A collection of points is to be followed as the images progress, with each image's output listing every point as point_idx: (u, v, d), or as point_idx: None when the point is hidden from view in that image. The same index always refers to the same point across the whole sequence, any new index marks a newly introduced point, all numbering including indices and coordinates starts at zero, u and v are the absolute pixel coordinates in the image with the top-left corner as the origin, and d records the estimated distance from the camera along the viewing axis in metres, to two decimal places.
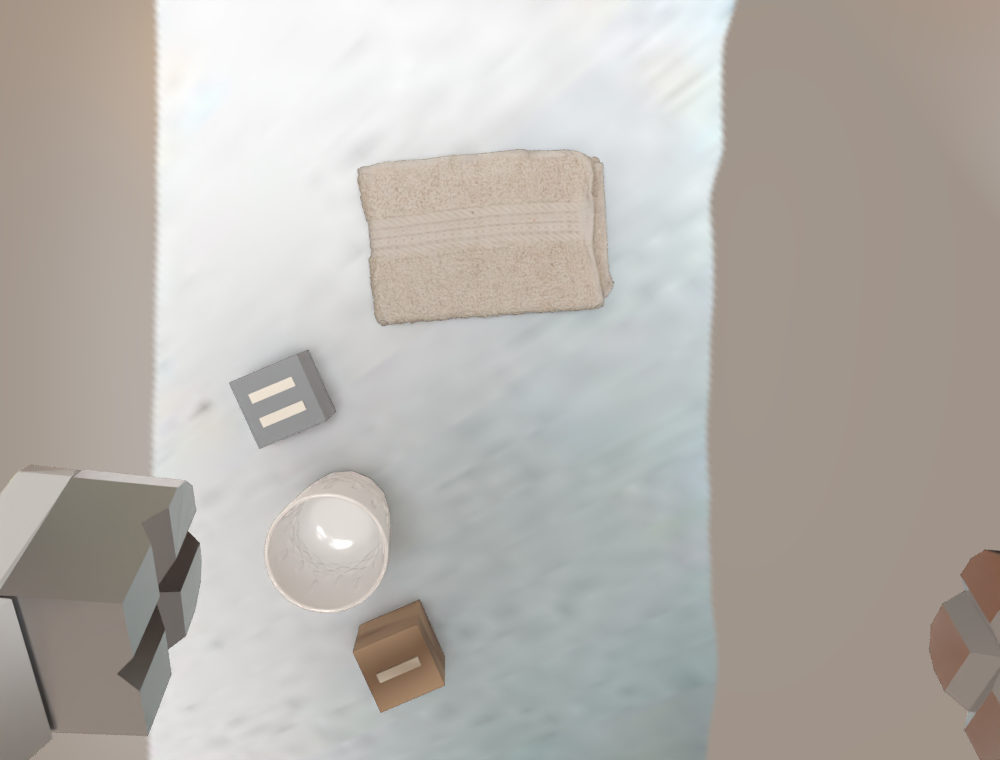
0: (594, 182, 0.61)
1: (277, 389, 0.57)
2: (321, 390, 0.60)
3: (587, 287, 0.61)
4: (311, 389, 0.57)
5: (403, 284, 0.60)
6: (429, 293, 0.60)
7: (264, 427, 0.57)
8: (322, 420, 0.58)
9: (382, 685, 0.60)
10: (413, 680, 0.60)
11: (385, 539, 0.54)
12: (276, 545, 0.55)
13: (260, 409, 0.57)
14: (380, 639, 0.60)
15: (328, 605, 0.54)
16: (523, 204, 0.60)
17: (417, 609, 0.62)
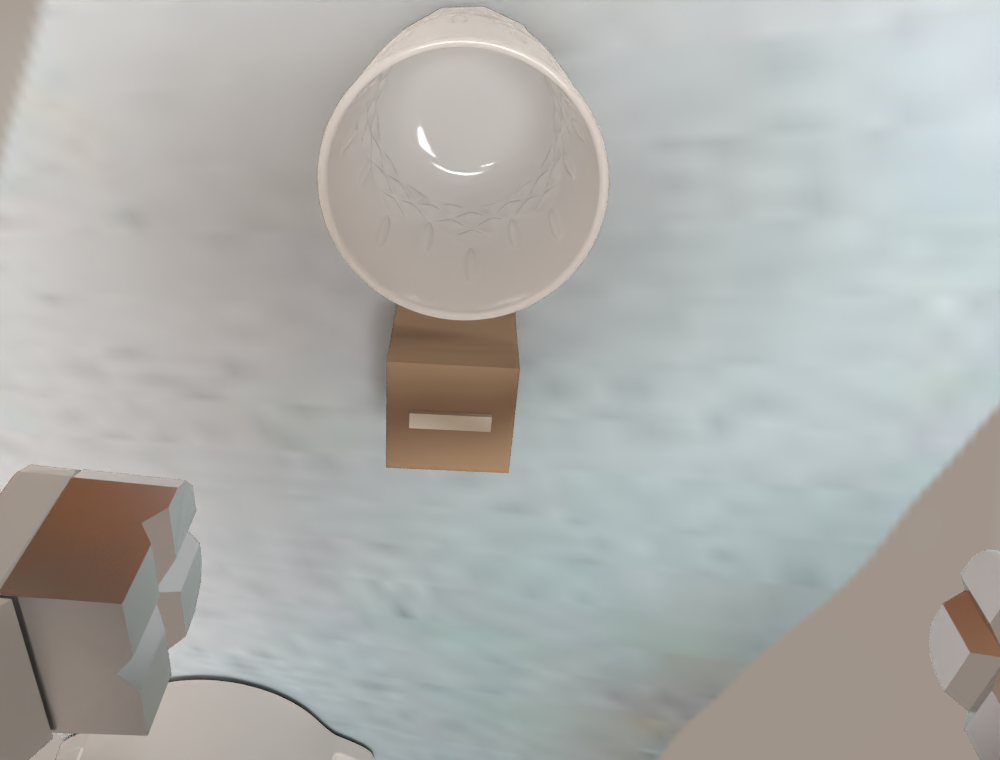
0: None
1: None
2: None
3: None
4: None
5: None
6: None
7: None
8: None
9: (409, 431, 0.33)
10: (464, 446, 0.33)
11: (600, 223, 0.23)
12: (351, 113, 0.23)
13: None
14: (443, 361, 0.31)
15: (410, 291, 0.25)
16: None
17: (513, 330, 0.34)
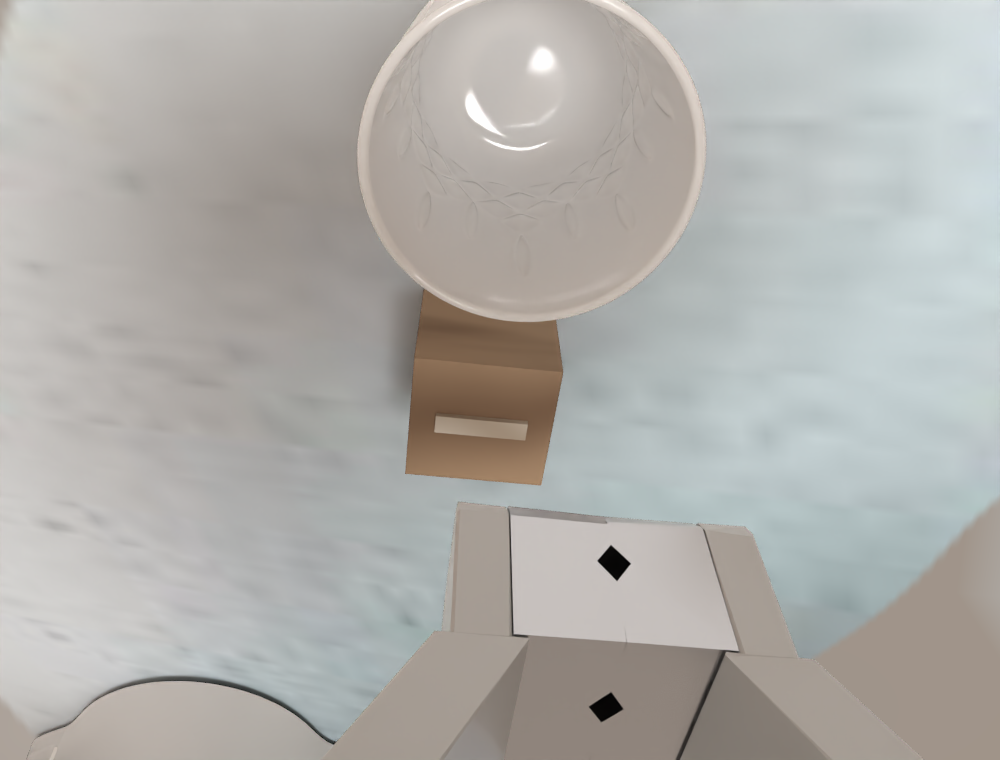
0: None
1: None
2: None
3: None
4: None
5: None
6: None
7: None
8: None
9: (434, 435, 0.29)
10: (494, 454, 0.30)
11: (688, 216, 0.20)
12: (399, 69, 0.19)
13: None
14: (477, 360, 0.28)
15: (456, 285, 0.21)
16: None
17: (554, 327, 0.30)
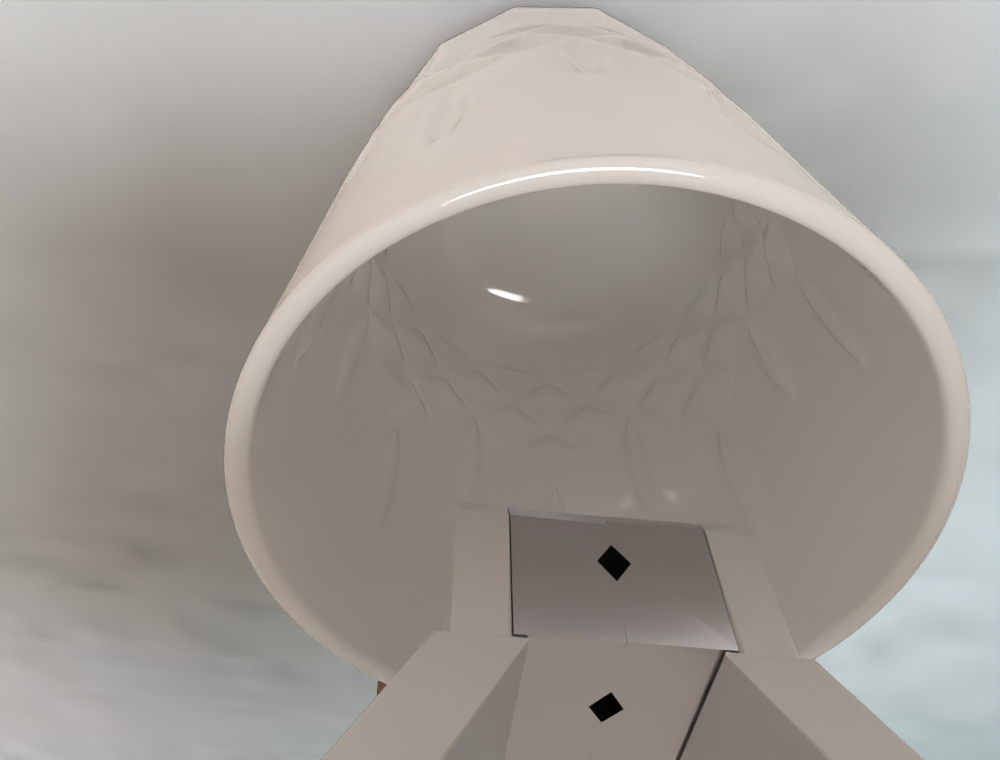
0: None
1: None
2: None
3: None
4: None
5: None
6: None
7: None
8: None
9: None
10: None
11: (904, 580, 0.10)
12: None
13: None
14: None
15: None
16: None
17: None
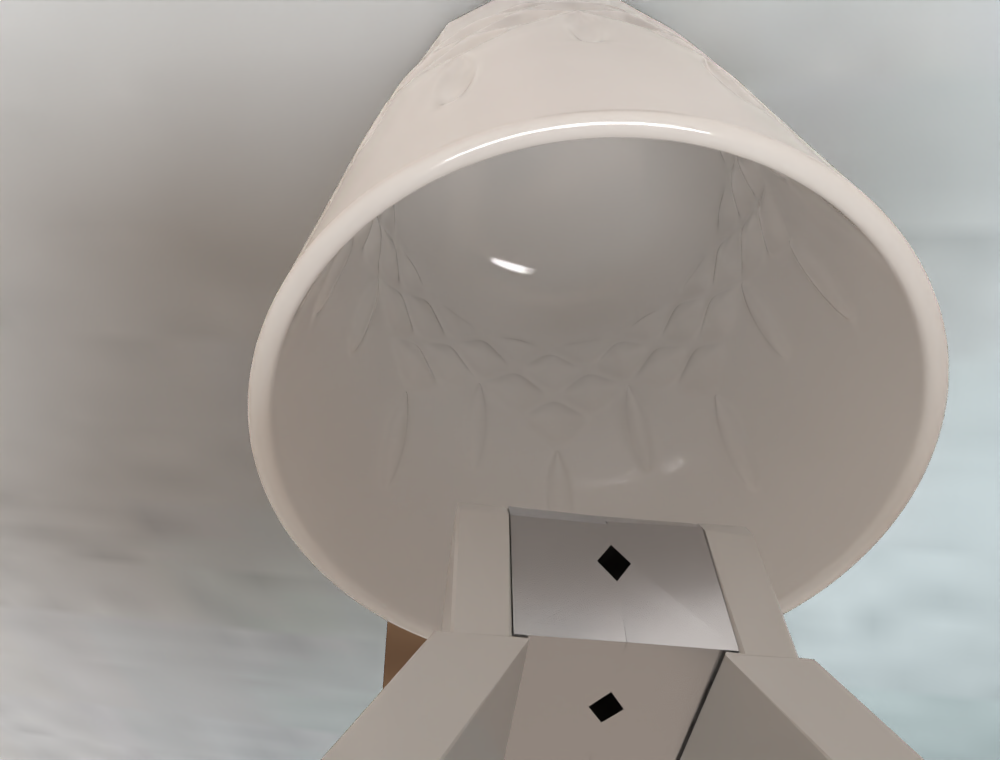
0: None
1: None
2: None
3: None
4: None
5: None
6: None
7: None
8: None
9: None
10: None
11: (888, 524, 0.10)
12: None
13: None
14: None
15: None
16: None
17: None
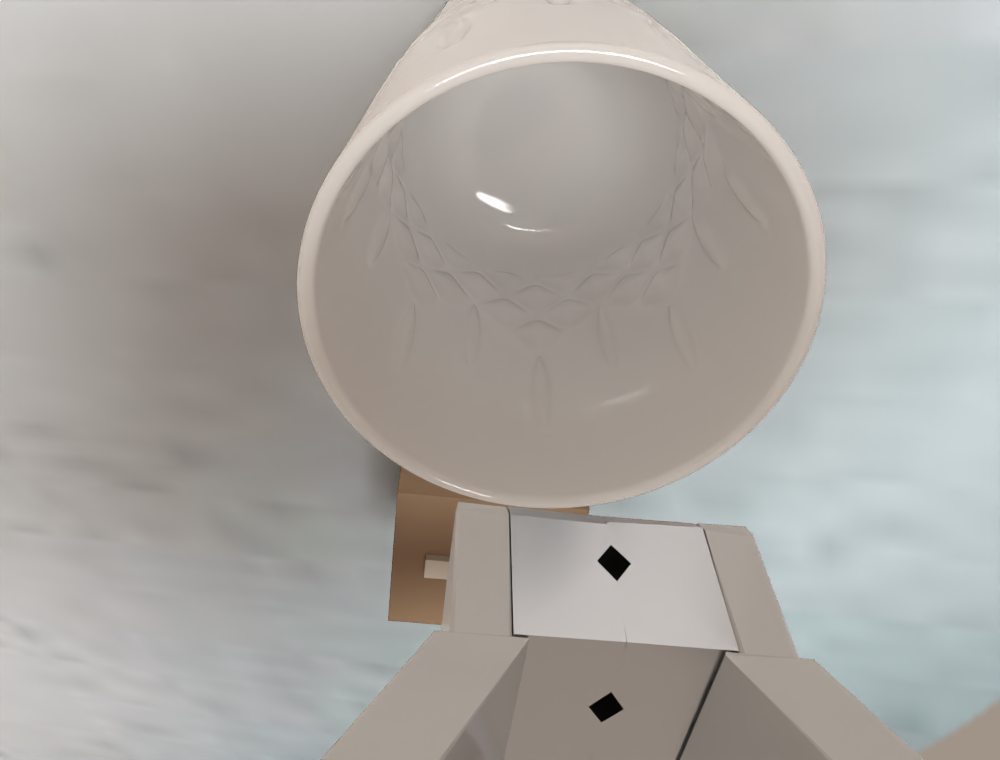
0: None
1: None
2: None
3: None
4: None
5: None
6: None
7: None
8: None
9: (424, 579, 0.23)
10: None
11: (790, 378, 0.13)
12: (362, 158, 0.13)
13: None
14: None
15: (448, 455, 0.15)
16: None
17: None
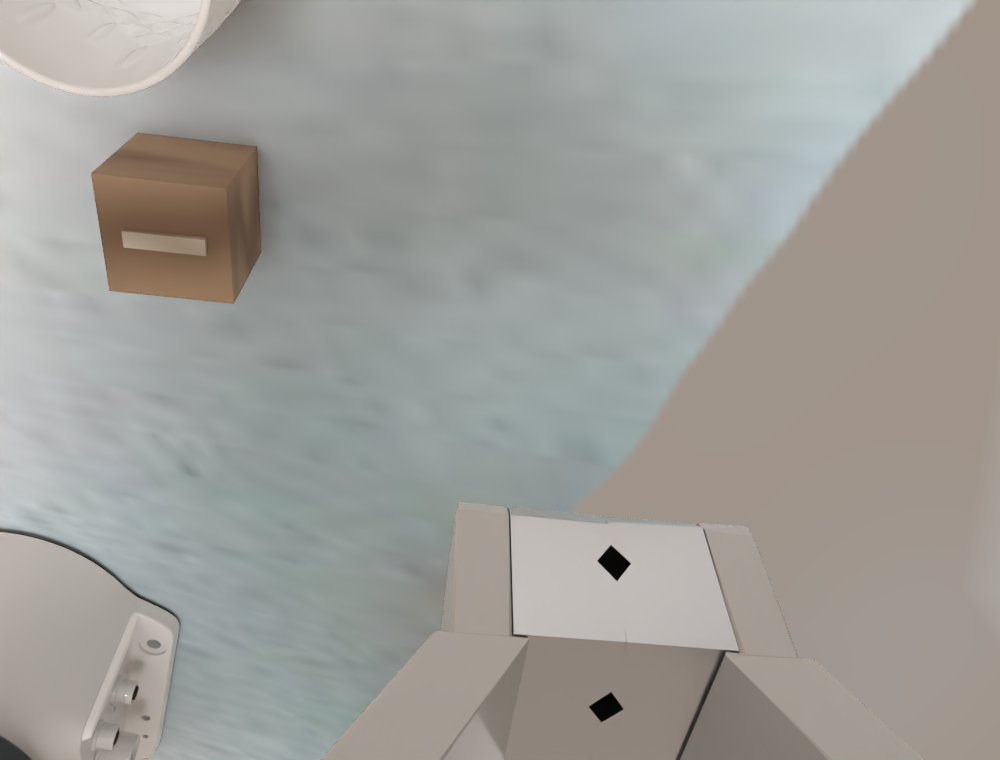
0: None
1: None
2: None
3: None
4: None
5: None
6: None
7: None
8: None
9: (127, 251, 0.33)
10: (184, 272, 0.34)
11: None
12: None
13: None
14: (150, 177, 0.32)
15: (41, 65, 0.25)
16: None
17: (243, 161, 0.34)
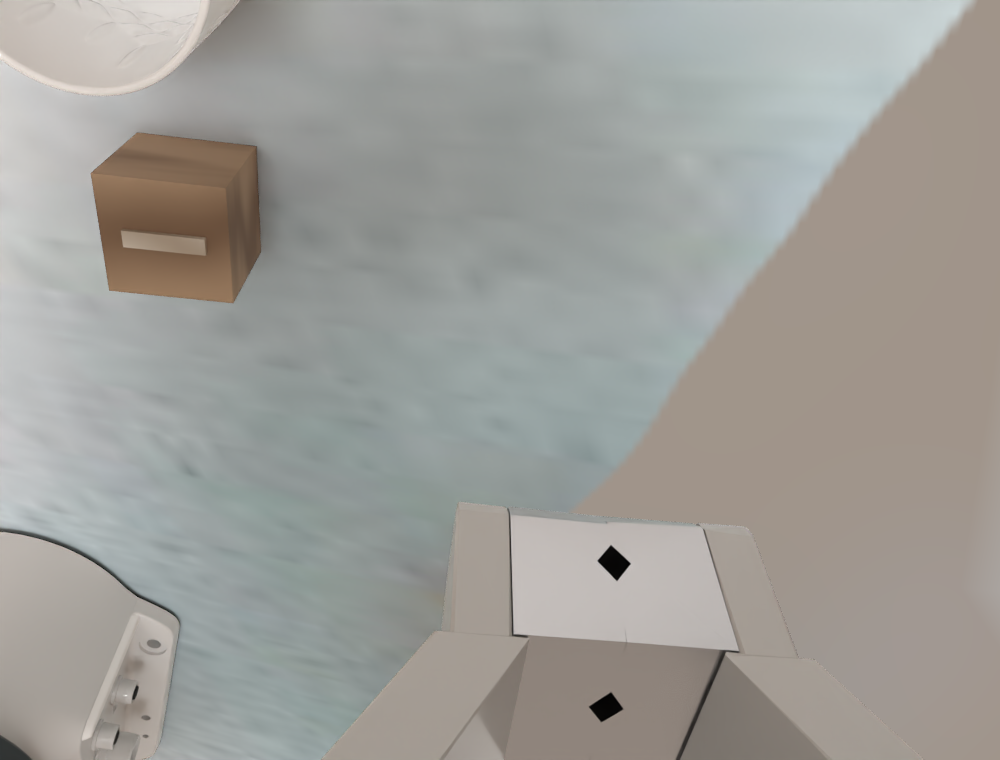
0: None
1: None
2: None
3: None
4: None
5: None
6: None
7: None
8: None
9: (126, 251, 0.33)
10: (184, 271, 0.34)
11: None
12: None
13: None
14: (150, 177, 0.32)
15: (40, 64, 0.25)
16: None
17: (242, 161, 0.34)
